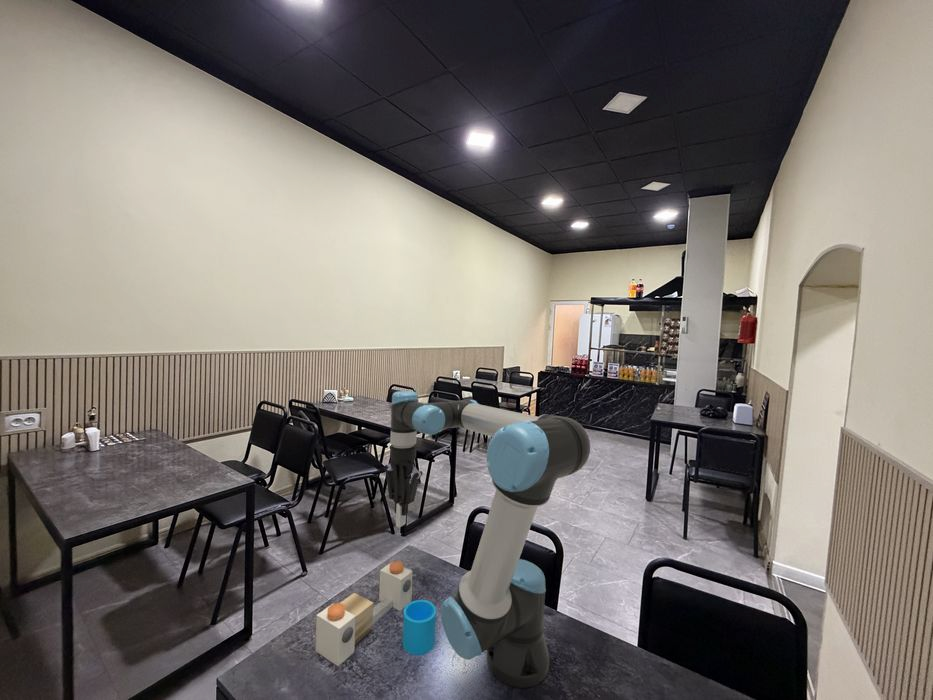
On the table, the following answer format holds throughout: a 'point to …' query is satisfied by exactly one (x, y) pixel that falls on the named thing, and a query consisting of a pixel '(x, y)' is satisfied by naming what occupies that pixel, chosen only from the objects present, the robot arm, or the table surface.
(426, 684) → the table surface
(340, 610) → the plunger
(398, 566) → the plunger
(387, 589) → the cabinet
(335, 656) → the cabinet
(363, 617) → the block
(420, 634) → the mug
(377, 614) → the rail
